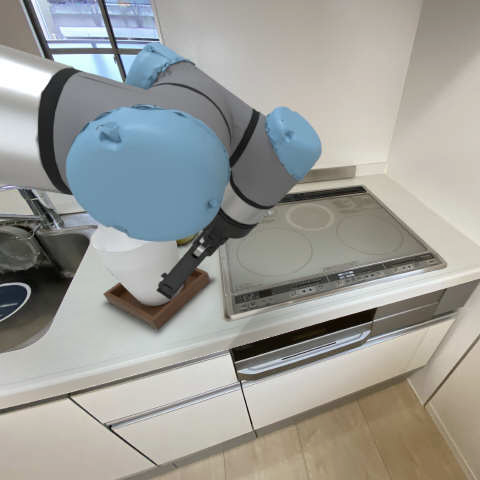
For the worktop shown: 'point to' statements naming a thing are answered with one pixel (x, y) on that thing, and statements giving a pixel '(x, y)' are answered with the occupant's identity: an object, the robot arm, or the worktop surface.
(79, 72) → the robot arm
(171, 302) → the tray
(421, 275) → the worktop surface
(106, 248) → the cup
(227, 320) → the worktop surface
